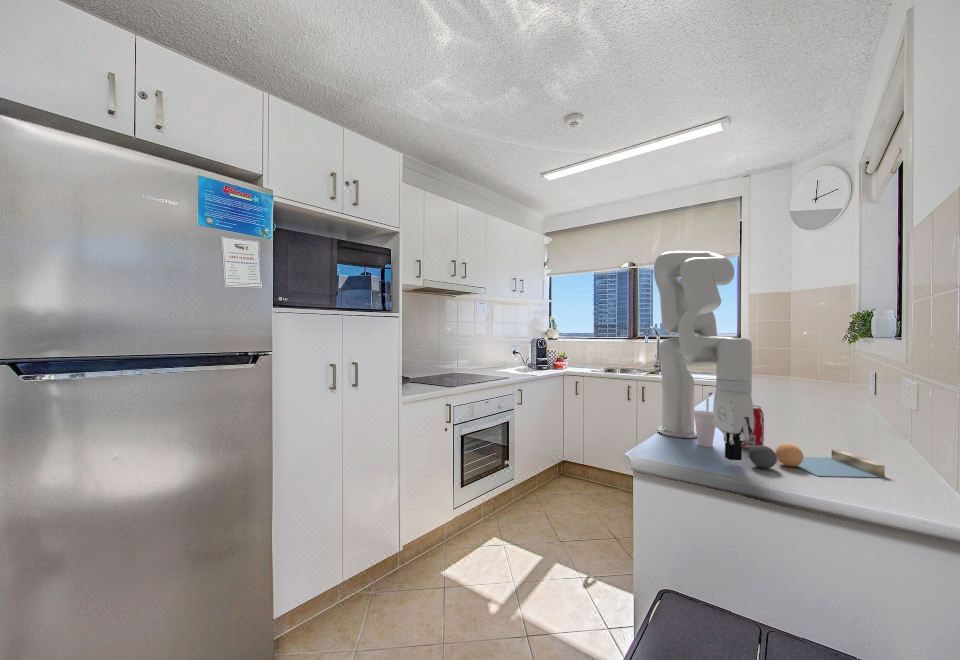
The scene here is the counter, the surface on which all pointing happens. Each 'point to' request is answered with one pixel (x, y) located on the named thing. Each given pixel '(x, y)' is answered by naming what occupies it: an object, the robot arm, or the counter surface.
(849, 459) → the stopper rail
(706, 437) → the smoothie
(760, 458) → the gray ball
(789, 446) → the orange ball
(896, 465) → the counter surface
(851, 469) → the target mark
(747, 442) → the soda can
